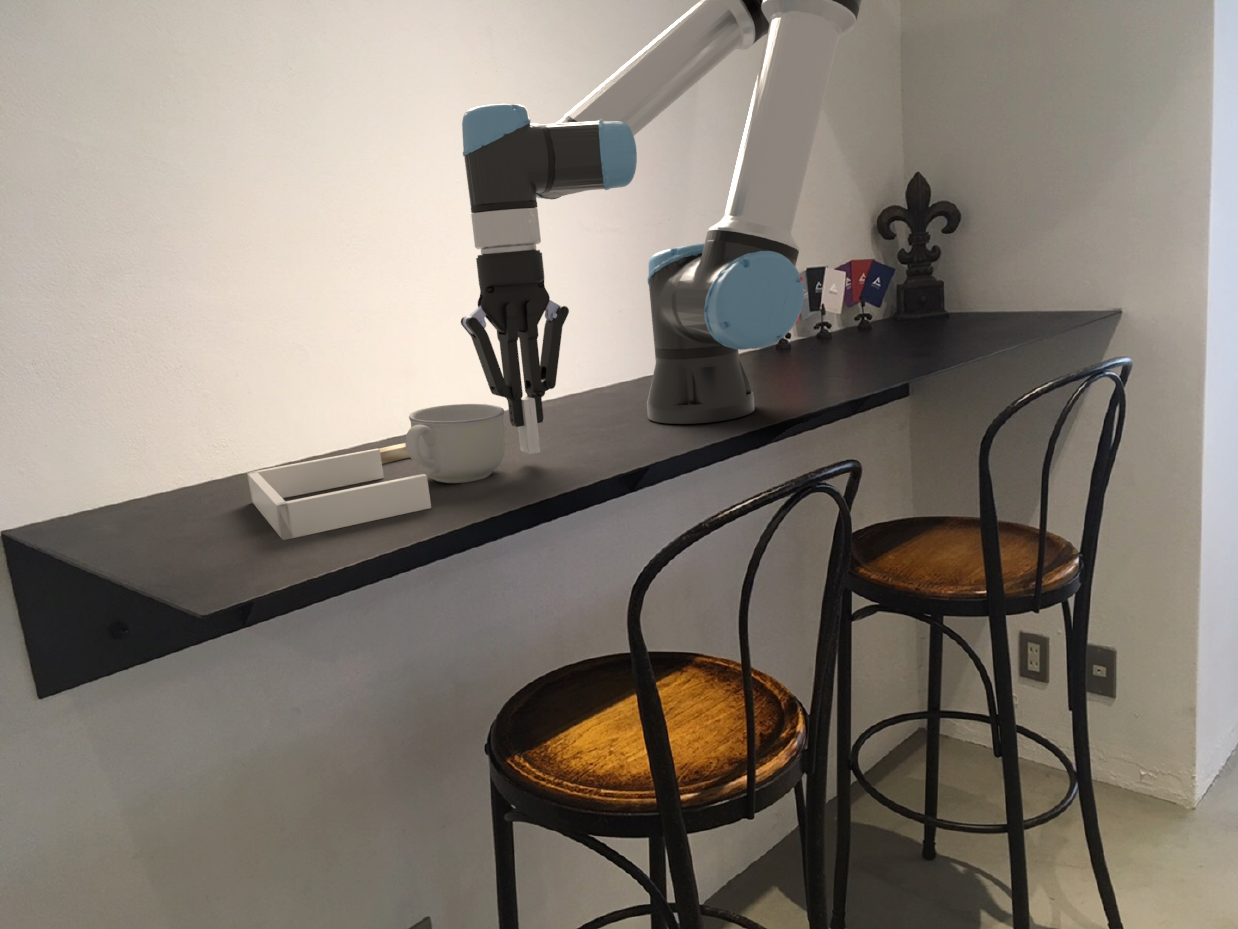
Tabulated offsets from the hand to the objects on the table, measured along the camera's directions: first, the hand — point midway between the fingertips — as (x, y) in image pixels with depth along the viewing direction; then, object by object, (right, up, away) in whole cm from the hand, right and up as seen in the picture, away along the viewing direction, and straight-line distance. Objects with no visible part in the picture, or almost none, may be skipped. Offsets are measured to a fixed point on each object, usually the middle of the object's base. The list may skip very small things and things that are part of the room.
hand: (530, 451), depth 116 cm
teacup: (-8, -4, -4) cm, 10 cm away
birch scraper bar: (-19, -1, +11) cm, 22 cm away
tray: (-20, -6, -10) cm, 23 cm away
